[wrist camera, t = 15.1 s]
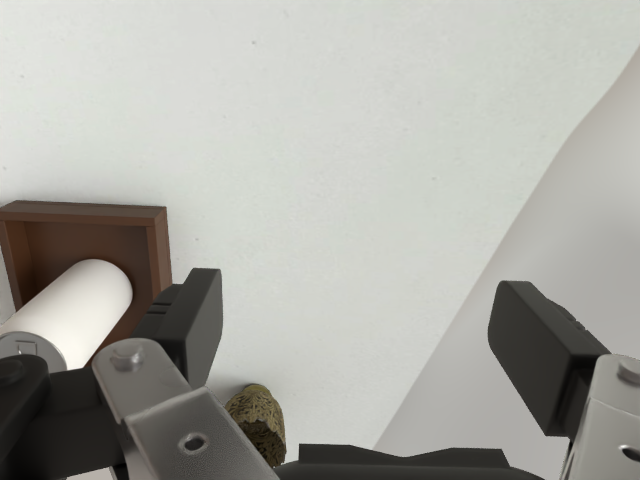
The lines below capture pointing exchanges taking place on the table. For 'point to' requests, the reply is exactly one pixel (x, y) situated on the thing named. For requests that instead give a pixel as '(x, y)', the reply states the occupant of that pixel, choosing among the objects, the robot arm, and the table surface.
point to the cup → (260, 422)
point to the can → (69, 316)
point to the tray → (86, 250)
